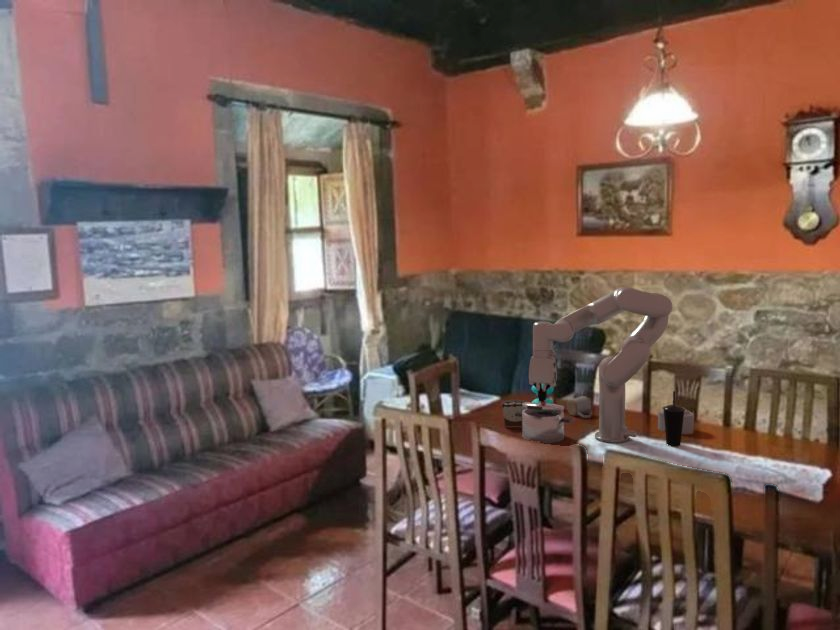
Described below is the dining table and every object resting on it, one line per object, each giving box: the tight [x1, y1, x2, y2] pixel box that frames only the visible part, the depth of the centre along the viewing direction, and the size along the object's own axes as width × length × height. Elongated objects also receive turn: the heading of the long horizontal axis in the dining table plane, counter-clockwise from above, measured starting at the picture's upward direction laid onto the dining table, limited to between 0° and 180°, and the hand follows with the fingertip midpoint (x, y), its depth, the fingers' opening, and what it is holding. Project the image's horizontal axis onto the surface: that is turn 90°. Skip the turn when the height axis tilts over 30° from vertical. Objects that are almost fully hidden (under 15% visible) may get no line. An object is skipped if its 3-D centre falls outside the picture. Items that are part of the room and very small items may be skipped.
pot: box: [515, 408, 573, 444], centre depth 256 cm, size 22×16×10 cm
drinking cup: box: [662, 390, 686, 447], centre depth 243 cm, size 8×8×20 cm
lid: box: [522, 401, 565, 411], centre depth 255 cm, size 16×18×3 cm
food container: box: [500, 399, 528, 428], centre depth 274 cm, size 12×6×10 cm, turn 84°
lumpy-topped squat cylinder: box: [657, 406, 695, 435], centre depth 261 cm, size 10×13×9 cm
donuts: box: [531, 383, 555, 404], centre depth 301 cm, size 10×10×10 cm
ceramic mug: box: [566, 395, 593, 419], centre depth 286 cm, size 11×8×8 cm
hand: (542, 400), depth 256 cm, fingers closed
